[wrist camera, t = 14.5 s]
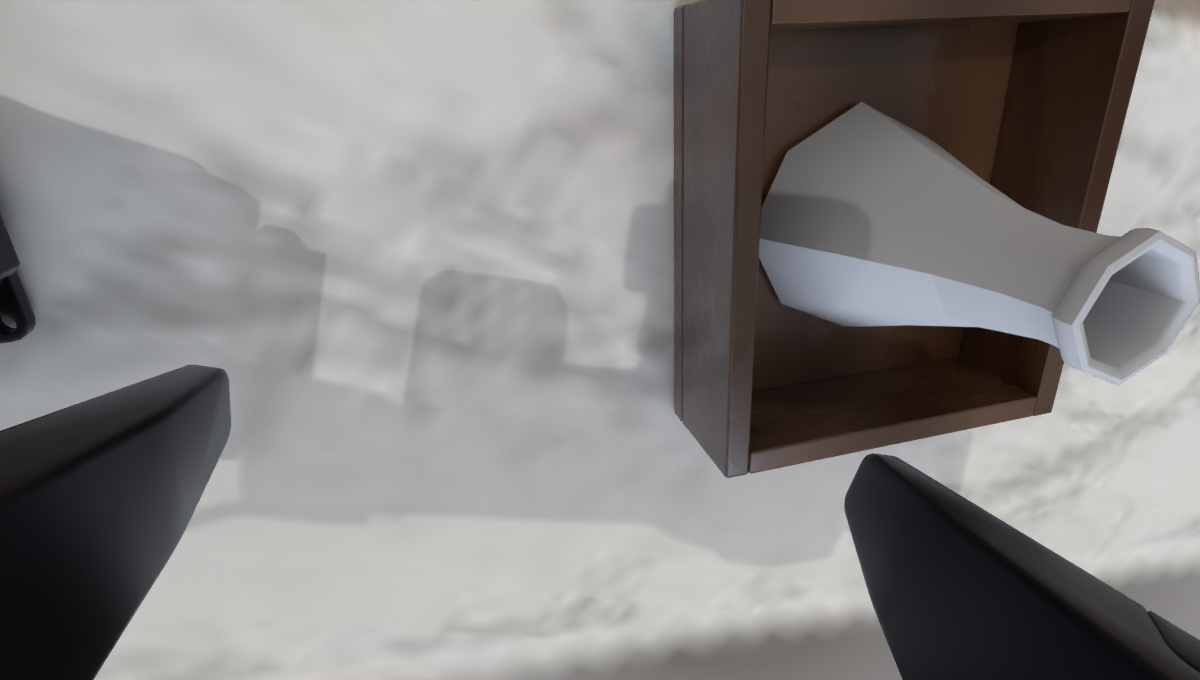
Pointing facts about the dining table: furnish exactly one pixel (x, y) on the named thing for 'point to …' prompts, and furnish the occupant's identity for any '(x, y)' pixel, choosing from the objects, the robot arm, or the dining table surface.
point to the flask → (961, 252)
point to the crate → (927, 105)
